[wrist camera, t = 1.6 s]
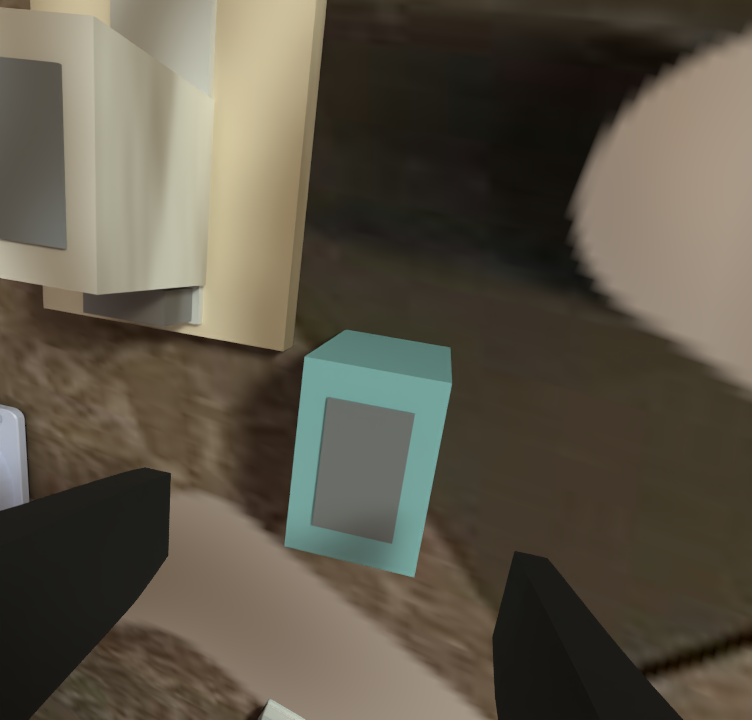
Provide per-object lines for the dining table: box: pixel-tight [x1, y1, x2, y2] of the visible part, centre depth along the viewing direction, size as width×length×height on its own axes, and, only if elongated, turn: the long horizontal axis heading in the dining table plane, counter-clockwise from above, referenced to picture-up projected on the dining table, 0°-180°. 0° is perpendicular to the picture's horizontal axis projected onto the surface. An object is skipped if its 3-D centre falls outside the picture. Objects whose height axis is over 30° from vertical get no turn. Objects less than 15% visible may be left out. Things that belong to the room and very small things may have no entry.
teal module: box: [284, 330, 452, 577], centre depth 15 cm, size 4×6×5 cm, turn 172°
